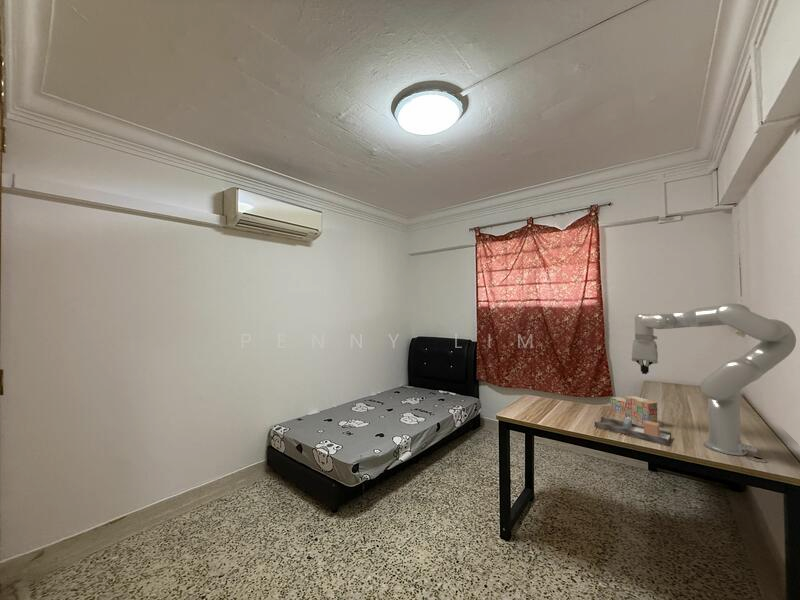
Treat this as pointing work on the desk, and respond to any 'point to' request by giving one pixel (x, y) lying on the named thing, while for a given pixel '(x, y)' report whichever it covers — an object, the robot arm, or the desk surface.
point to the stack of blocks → (635, 408)
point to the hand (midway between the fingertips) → (644, 373)
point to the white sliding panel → (629, 426)
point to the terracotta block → (651, 428)
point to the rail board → (619, 428)
